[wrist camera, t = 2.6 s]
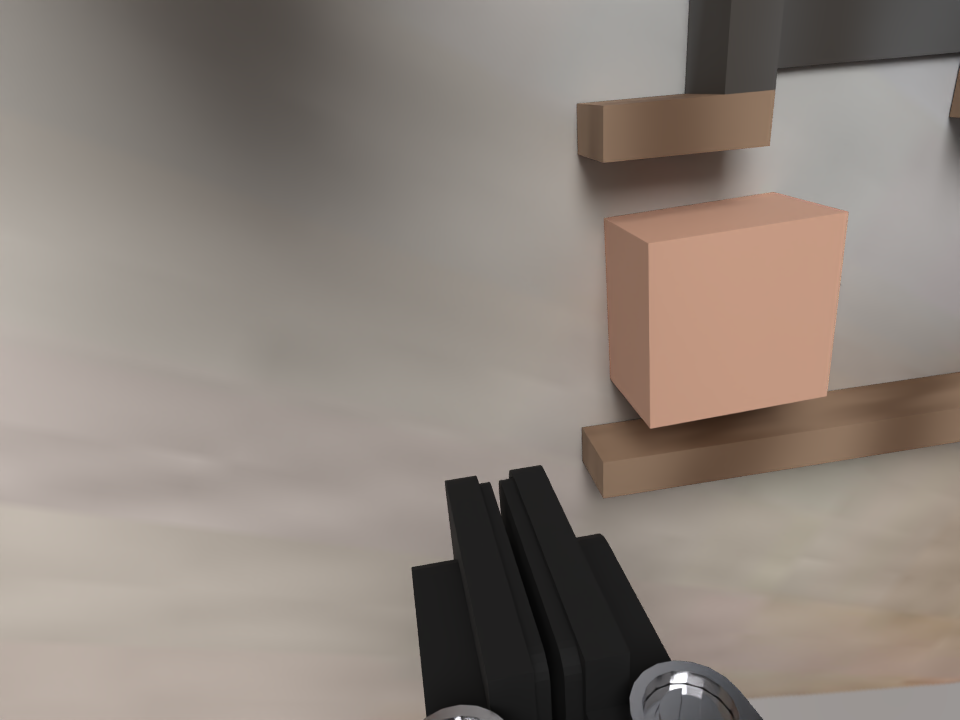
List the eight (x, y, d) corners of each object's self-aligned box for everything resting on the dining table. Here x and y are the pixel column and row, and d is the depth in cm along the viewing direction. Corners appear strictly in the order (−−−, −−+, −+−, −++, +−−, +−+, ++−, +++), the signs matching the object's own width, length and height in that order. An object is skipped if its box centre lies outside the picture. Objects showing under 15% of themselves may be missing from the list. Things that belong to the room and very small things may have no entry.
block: (770, 191, 22) (848, 212, 18) (759, 350, 24) (826, 396, 21) (602, 216, 21) (648, 243, 18) (608, 376, 24) (650, 428, 20)
